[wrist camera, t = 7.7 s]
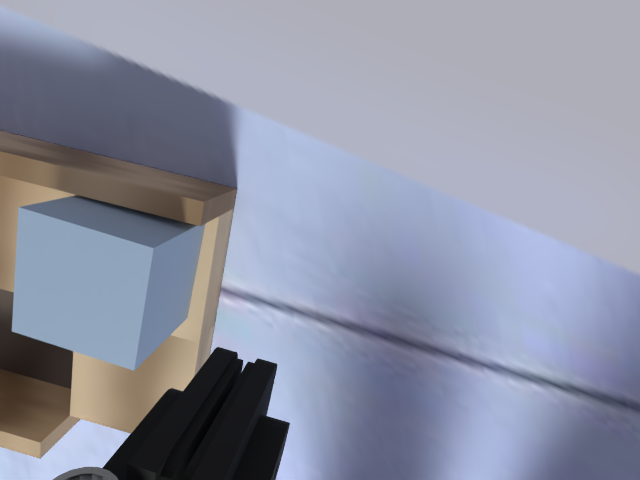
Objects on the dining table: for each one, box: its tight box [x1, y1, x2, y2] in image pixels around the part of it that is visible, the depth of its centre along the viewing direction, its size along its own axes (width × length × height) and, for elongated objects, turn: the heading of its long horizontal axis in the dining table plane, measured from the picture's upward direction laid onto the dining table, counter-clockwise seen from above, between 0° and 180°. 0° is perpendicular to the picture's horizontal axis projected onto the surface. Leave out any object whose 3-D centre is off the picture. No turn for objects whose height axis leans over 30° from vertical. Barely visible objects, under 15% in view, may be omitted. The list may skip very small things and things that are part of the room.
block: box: [12, 195, 205, 371], centre depth 17 cm, size 5×5×4 cm
